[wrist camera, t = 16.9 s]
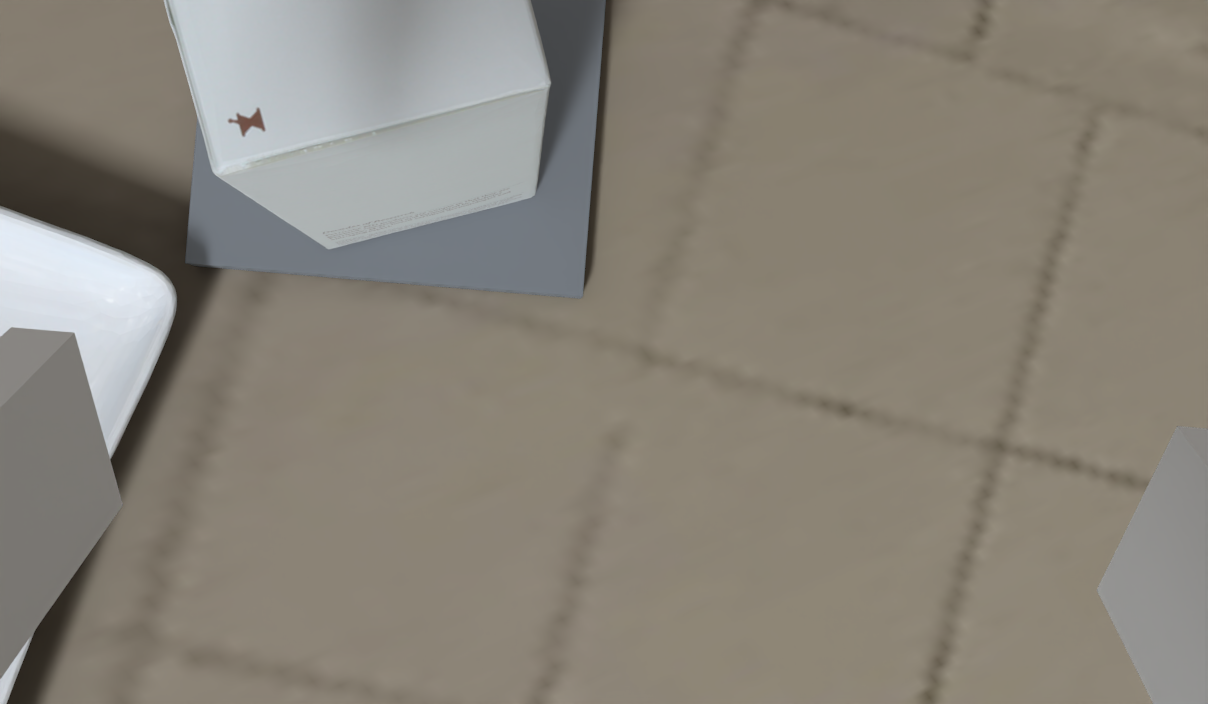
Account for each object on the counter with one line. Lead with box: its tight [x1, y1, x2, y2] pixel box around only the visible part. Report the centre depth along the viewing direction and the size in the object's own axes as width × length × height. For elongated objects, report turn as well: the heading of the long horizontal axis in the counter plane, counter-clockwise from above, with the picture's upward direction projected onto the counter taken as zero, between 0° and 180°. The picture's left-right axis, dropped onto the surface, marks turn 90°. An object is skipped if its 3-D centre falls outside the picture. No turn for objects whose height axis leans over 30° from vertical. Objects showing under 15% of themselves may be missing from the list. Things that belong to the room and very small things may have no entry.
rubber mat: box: [185, 0, 606, 299], centre depth 32 cm, size 13×11×1 cm
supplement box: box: [164, 0, 551, 249], centre depth 26 cm, size 7×7×13 cm
